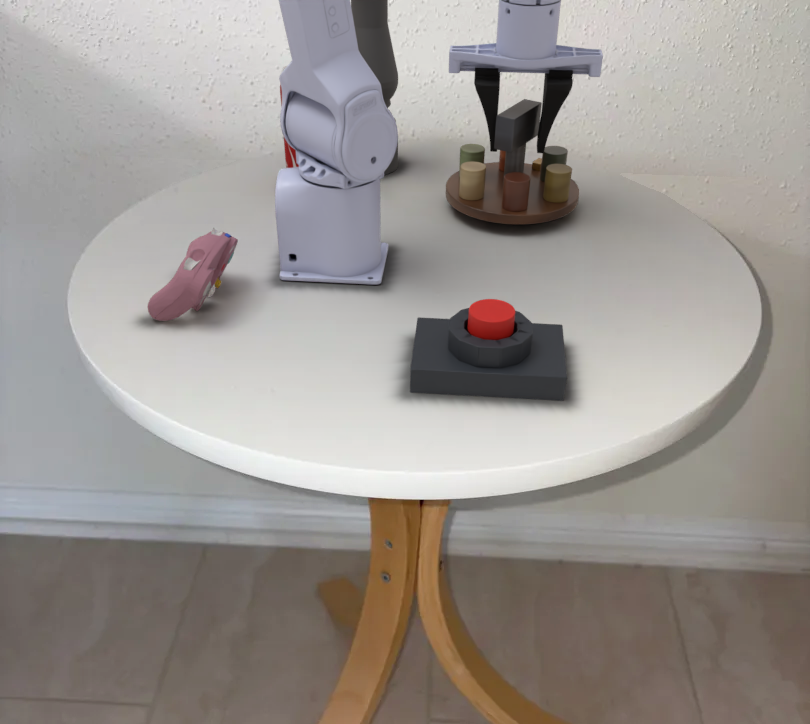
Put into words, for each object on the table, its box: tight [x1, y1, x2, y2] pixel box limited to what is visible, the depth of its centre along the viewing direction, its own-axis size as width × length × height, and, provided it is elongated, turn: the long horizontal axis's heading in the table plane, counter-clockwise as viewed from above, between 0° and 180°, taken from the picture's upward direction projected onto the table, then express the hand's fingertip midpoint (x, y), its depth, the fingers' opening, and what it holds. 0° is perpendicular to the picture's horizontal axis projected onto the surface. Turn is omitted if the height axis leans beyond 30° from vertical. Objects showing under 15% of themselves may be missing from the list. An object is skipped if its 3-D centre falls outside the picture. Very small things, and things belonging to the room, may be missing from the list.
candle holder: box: [350, 0, 399, 176], centre depth 97 cm, size 6×6×25 cm
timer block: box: [409, 307, 568, 402], centre depth 72 cm, size 12×8×4 cm, turn 85°
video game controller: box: [147, 227, 239, 322], centre depth 80 cm, size 10×5×7 cm, turn 168°
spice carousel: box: [445, 98, 580, 225], centre depth 93 cm, size 14×14×9 cm
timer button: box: [468, 298, 516, 340], centre depth 71 cm, size 4×4×2 cm
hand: (517, 148), depth 93 cm, fingers closed on spice carousel, 4 cm apart
